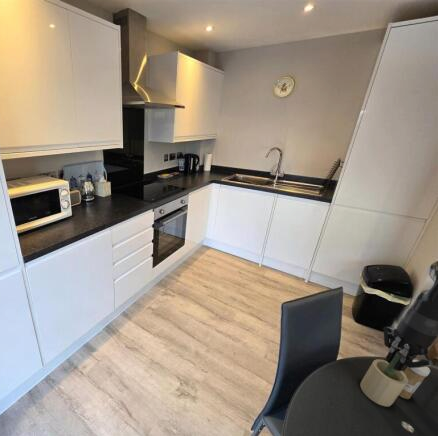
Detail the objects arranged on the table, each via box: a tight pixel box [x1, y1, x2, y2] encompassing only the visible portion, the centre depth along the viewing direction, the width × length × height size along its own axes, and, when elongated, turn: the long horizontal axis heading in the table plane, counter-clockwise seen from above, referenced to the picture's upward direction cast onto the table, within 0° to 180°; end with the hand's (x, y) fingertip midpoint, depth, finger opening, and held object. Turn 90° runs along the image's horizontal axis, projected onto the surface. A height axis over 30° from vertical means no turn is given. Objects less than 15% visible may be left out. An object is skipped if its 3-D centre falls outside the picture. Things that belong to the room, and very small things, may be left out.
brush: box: [383, 352, 402, 378], centre depth 78 cm, size 4×4×18 cm
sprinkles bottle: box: [398, 359, 431, 400], centre depth 80 cm, size 5×5×13 cm
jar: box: [359, 358, 408, 407], centre depth 80 cm, size 8×8×11 cm
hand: (393, 365), depth 77 cm, fingers closed on brush, 2 cm apart
